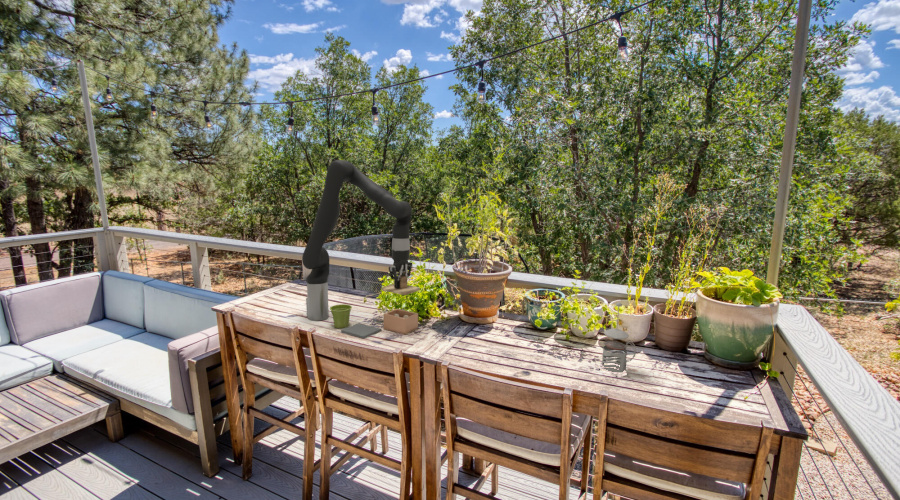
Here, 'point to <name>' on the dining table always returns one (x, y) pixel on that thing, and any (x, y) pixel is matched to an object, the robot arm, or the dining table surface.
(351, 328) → the mat
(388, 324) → the box
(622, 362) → the french press
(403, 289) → the lid
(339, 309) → the plant pot
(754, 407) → the dining table surface
